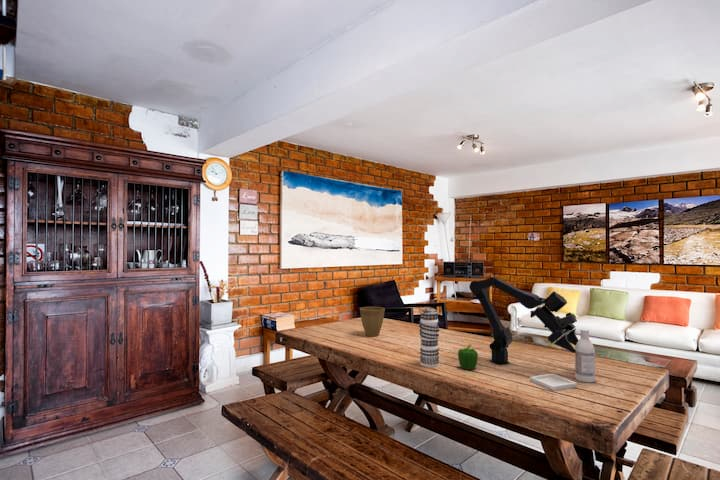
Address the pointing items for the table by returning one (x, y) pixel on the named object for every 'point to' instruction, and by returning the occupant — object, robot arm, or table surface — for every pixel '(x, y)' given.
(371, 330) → the plant pot
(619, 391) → the table surface
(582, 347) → the bath foam
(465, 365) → the bell pepper
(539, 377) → the tray
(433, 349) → the leaning tower model
